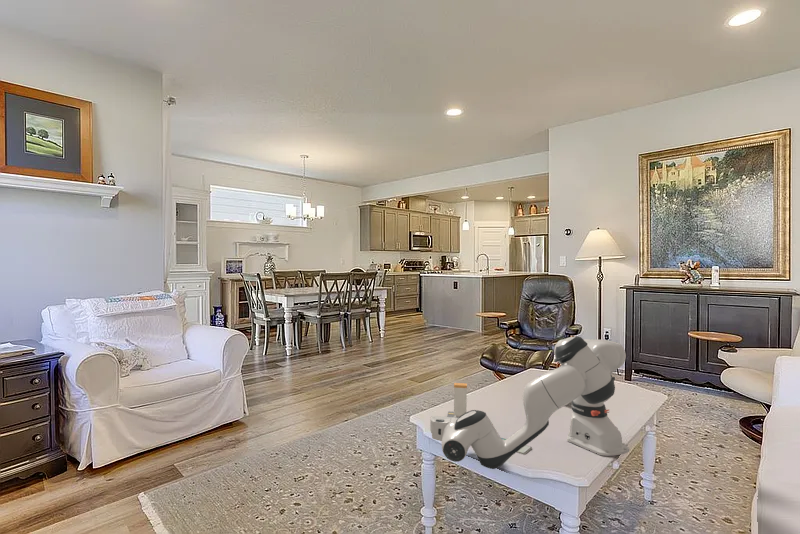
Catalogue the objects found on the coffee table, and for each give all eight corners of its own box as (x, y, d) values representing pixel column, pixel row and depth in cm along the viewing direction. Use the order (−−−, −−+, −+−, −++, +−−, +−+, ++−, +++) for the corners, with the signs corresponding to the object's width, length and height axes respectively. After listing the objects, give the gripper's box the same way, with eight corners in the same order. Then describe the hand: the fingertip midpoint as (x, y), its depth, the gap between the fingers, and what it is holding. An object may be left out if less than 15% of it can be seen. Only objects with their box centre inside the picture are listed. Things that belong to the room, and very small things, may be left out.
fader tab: (466, 427, 176) (466, 385, 176) (453, 426, 177) (454, 384, 177) (466, 424, 179) (467, 383, 179) (453, 423, 180) (454, 382, 180)
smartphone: (524, 453, 154) (487, 441, 164) (524, 456, 154) (487, 444, 164) (532, 446, 160) (496, 435, 169) (532, 449, 160) (496, 437, 169)
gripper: (487, 425, 148) (486, 411, 162) (428, 420, 152) (432, 407, 165) (487, 443, 148) (486, 428, 162) (427, 438, 152) (432, 423, 165)
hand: (458, 417), depth 163 cm, fingers closed
